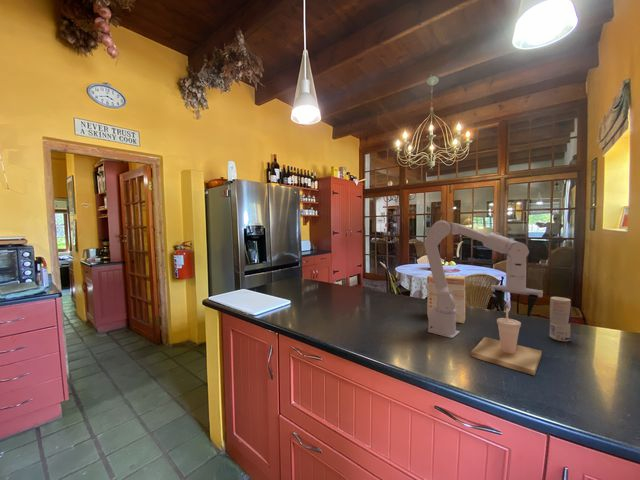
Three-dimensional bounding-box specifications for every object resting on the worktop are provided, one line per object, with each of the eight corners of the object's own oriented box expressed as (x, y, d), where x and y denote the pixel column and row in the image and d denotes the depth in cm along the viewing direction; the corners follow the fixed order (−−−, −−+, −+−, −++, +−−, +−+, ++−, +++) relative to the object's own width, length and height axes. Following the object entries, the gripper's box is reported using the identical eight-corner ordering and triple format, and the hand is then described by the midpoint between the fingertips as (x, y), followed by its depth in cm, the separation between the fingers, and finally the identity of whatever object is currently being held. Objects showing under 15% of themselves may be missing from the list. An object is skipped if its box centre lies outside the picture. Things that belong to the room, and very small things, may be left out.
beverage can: (574, 342, 94) (575, 300, 93) (555, 341, 95) (556, 300, 94) (563, 336, 99) (564, 296, 99) (545, 335, 100) (546, 296, 100)
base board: (470, 356, 85) (470, 351, 85) (484, 340, 97) (484, 336, 97) (534, 375, 74) (534, 370, 74) (541, 355, 85) (541, 350, 85)
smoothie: (491, 346, 89) (492, 305, 88) (508, 345, 89) (509, 304, 89) (507, 356, 82) (508, 311, 82) (526, 354, 83) (526, 310, 82)
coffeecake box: (465, 318, 120) (465, 275, 119) (464, 323, 114) (464, 278, 113) (430, 313, 128) (430, 273, 127) (427, 318, 122) (427, 275, 121)
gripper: (544, 276, 92) (543, 315, 92) (494, 271, 102) (494, 306, 103) (541, 279, 87) (540, 320, 87) (489, 274, 97) (489, 311, 98)
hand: (515, 313), depth 95 cm, fingers open, 7 cm apart
